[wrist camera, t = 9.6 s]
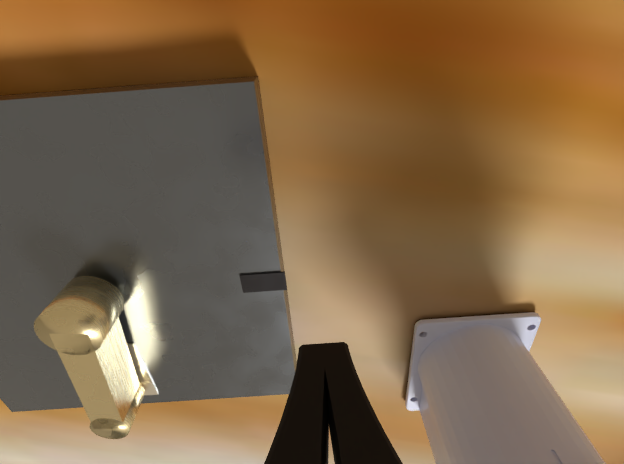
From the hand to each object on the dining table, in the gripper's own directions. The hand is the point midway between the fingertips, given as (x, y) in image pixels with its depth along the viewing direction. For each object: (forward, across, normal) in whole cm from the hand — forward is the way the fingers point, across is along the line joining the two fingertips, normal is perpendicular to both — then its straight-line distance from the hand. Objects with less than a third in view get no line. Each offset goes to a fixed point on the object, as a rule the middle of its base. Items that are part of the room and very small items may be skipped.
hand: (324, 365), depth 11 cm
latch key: (+7, +12, +7) cm, 16 cm away
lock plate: (+9, +12, +3) cm, 16 cm away
